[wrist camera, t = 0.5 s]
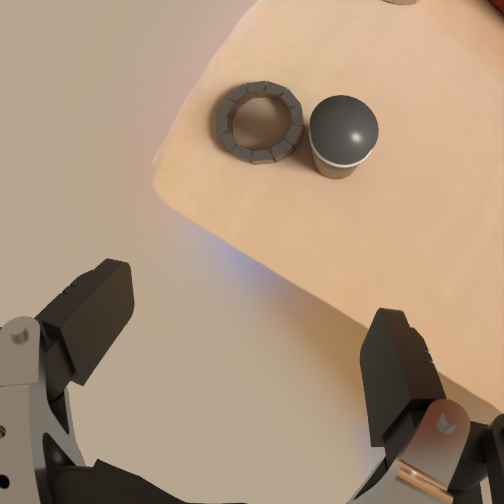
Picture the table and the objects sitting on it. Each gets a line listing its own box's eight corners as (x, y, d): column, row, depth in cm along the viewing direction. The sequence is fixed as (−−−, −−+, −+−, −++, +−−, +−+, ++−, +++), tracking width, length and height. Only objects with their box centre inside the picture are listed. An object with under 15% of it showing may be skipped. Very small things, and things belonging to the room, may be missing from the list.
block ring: (243, 78, 32) (239, 72, 30) (316, 105, 30) (316, 99, 28) (209, 145, 34) (203, 142, 32) (281, 177, 32) (279, 175, 30)
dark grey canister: (323, 127, 31) (325, 83, 19) (365, 147, 30) (389, 114, 18) (303, 167, 32) (296, 141, 20) (346, 188, 31) (363, 174, 19)
